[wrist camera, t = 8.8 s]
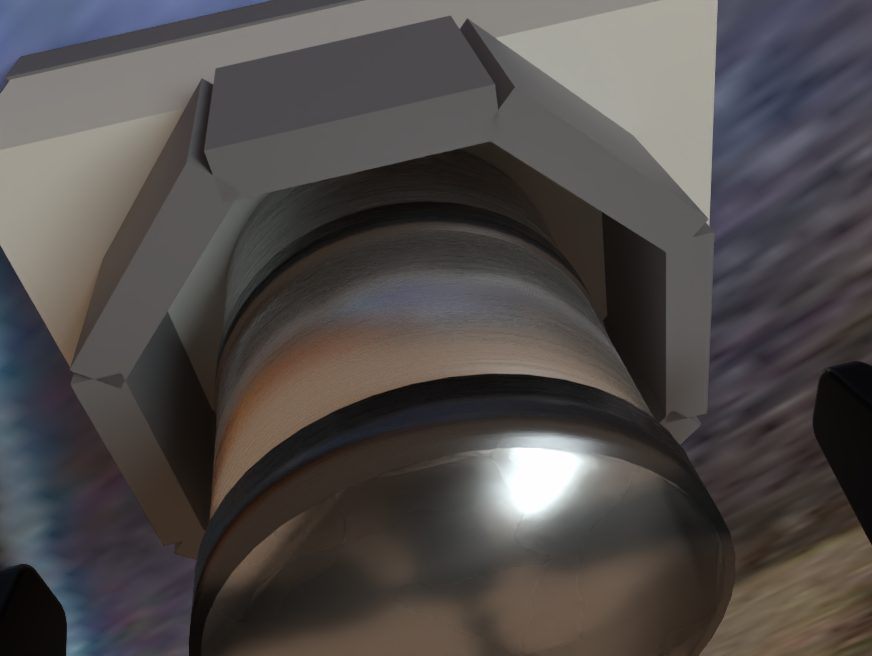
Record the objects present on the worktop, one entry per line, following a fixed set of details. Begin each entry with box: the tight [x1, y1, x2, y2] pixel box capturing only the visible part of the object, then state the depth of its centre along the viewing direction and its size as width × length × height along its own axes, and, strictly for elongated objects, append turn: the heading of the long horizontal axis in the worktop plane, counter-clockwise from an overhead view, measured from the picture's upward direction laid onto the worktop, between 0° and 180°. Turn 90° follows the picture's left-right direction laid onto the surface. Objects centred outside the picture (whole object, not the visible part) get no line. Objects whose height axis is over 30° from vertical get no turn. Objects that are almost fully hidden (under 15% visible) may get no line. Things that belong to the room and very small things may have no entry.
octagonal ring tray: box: [0, 0, 718, 560], centre depth 13 cm, size 8×10×6 cm
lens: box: [189, 149, 735, 656], centre depth 10 cm, size 5×5×6 cm
